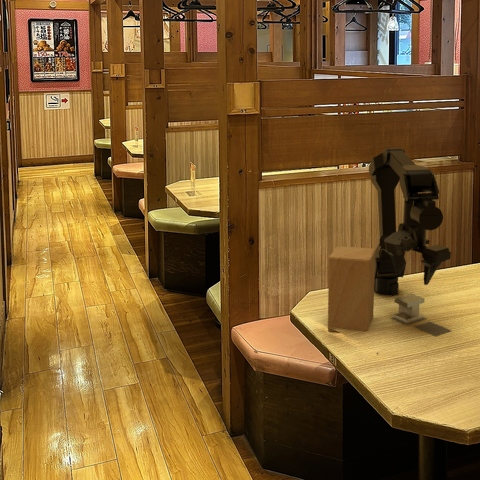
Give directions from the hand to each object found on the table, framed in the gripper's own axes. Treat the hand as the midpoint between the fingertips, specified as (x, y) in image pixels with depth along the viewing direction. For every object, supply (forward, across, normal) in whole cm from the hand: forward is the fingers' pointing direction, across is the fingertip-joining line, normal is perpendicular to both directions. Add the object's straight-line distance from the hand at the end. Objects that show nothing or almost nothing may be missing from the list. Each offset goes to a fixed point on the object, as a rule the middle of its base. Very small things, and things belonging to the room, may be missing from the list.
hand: (411, 279), depth 168 cm
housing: (+11, 0, 0) cm, 11 cm away
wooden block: (+12, -7, -14) cm, 20 cm away
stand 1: (+12, 0, 0) cm, 12 cm away
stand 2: (+12, +8, -1) cm, 14 cm away
